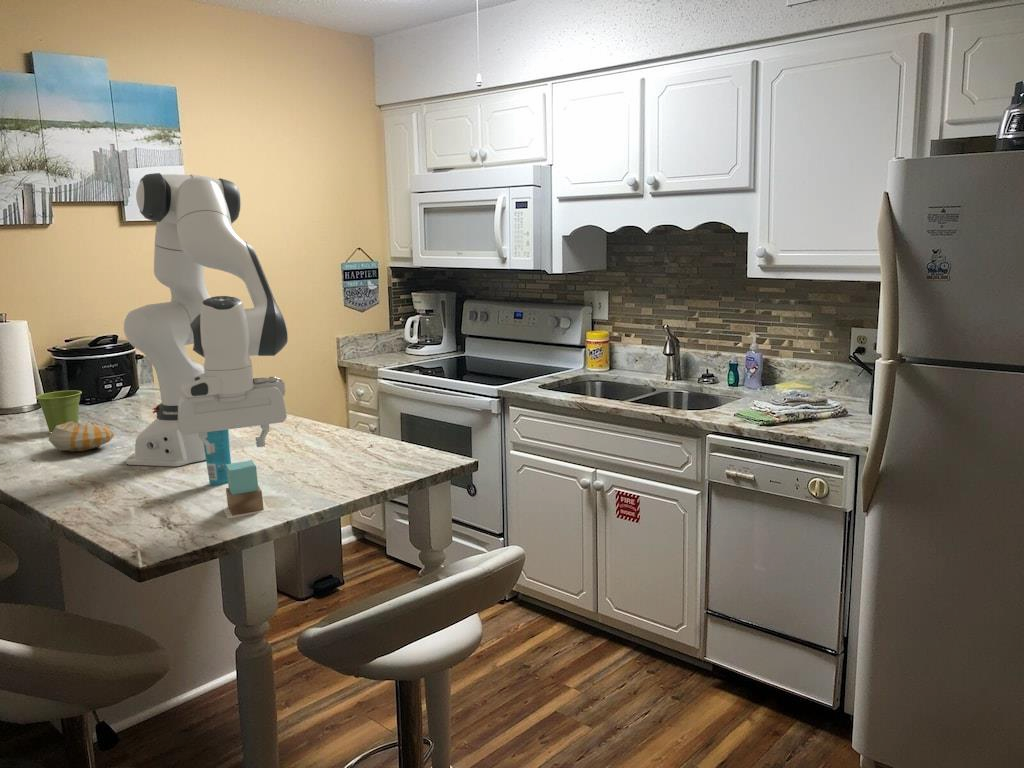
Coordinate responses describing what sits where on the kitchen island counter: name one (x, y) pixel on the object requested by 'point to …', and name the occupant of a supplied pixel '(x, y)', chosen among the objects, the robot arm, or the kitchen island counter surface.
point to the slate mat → (245, 513)
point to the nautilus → (80, 436)
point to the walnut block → (244, 502)
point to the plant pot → (60, 407)
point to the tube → (218, 457)
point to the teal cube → (242, 477)
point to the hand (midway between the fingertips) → (236, 449)
